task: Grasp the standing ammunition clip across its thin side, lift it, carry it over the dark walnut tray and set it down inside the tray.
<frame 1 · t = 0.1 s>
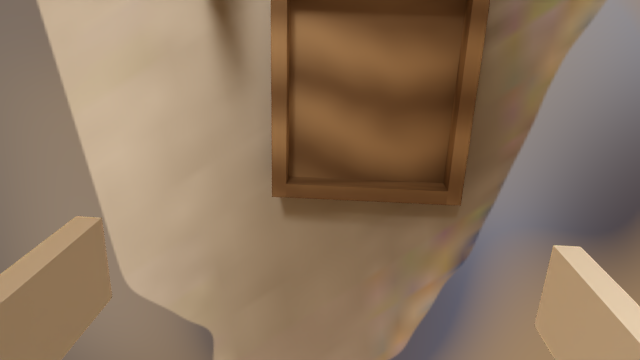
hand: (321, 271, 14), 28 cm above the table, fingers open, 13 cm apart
tray: (370, 89, 39), on the table
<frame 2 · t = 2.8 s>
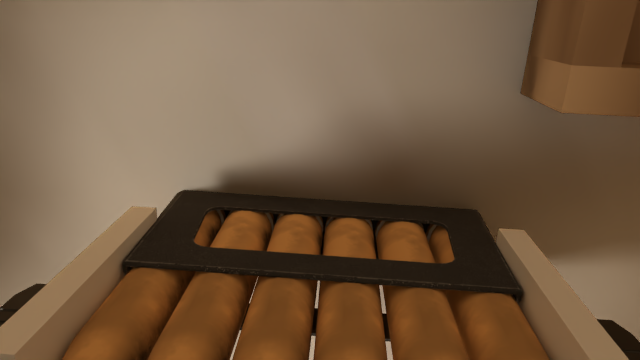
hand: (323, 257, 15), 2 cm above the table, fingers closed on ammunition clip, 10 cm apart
ammunition clip: (326, 221, 17), on the table, touching gripper
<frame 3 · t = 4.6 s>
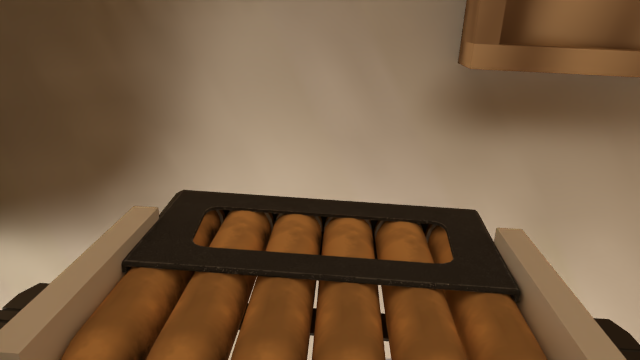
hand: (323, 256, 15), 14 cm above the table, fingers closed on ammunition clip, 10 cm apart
ammunition clip: (325, 221, 17), point 12 cm above the table, touching gripper
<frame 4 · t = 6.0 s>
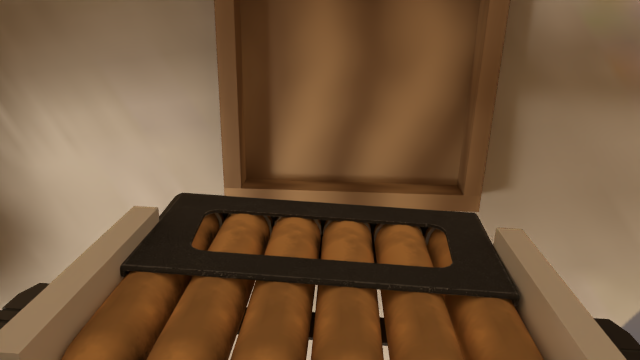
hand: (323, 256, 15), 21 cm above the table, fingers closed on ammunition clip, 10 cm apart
tray: (354, 87, 33), on the table
ammunition clip: (324, 223, 17), point 18 cm above the table, touching gripper
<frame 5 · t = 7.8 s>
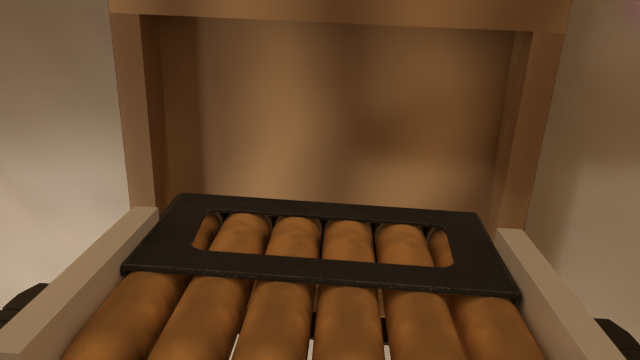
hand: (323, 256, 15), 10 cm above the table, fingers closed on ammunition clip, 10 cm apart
tray: (328, 163, 24), on the table
ammunition clip: (325, 223, 17), point 7 cm above the table, touching gripper
when the fingers open (5 cm above the table, at t = 9.1 s): ammunition clip drops 2 cm, resting on tray.
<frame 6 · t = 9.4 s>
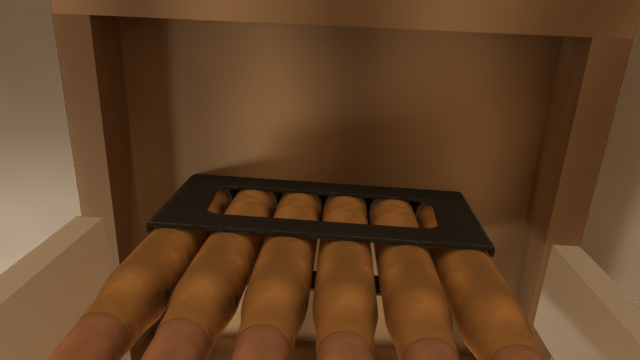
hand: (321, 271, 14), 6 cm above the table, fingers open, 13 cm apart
tray: (329, 194, 20), on the table
ammunition clip: (324, 202, 19), point 1 cm above the table, touching tray
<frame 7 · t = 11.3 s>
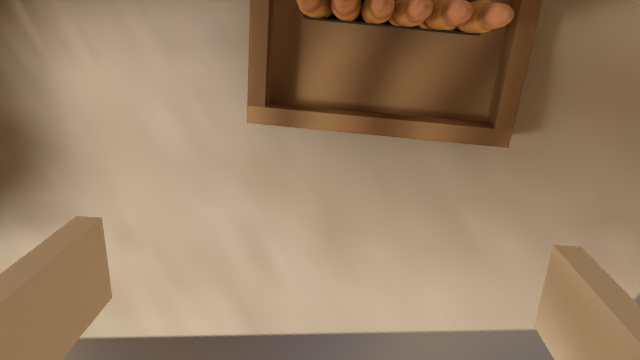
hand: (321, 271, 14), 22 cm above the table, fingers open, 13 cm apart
tray: (388, 11, 32), on the table
ammunition clip: (386, 12, 31), point 1 cm above the table, touching tray
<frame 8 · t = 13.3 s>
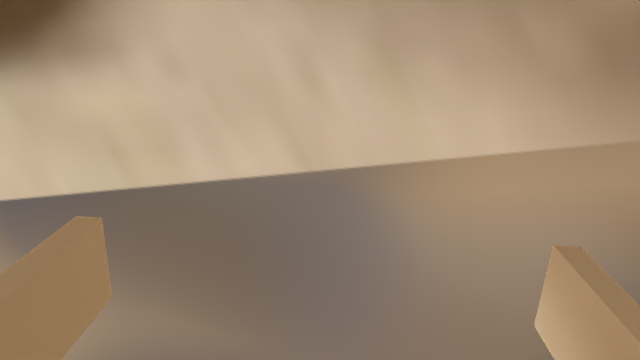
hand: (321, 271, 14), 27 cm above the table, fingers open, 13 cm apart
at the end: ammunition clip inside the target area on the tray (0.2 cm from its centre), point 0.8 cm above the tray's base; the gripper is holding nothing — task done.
